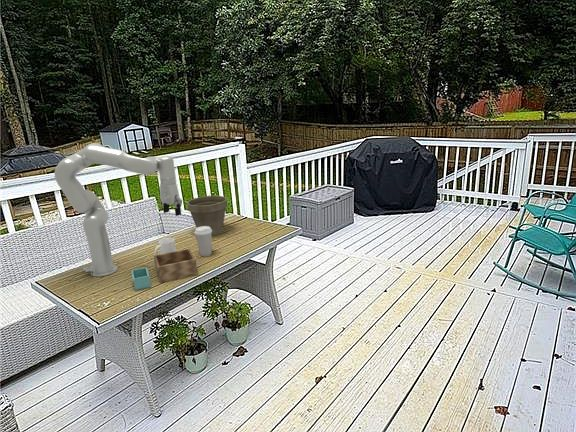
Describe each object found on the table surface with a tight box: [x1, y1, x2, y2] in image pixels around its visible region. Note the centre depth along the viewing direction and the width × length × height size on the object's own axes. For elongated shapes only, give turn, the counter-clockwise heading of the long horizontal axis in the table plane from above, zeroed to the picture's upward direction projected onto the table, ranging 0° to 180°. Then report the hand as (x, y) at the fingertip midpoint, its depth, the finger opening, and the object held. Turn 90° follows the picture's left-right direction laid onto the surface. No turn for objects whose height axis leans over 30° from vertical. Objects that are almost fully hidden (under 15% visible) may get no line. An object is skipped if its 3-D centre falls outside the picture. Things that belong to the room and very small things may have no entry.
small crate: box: [131, 266, 152, 292], centre depth 187 cm, size 7×11×6 cm, turn 25°
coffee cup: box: [194, 226, 213, 257], centre depth 218 cm, size 10×10×15 cm
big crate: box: [153, 248, 198, 284], centre depth 198 cm, size 18×16×8 cm
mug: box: [154, 237, 177, 256], centre depth 214 cm, size 12×8×10 cm
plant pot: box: [186, 195, 228, 237], centre depth 250 cm, size 25×25×22 cm
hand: (172, 213), depth 203 cm, fingers open, 9 cm apart
